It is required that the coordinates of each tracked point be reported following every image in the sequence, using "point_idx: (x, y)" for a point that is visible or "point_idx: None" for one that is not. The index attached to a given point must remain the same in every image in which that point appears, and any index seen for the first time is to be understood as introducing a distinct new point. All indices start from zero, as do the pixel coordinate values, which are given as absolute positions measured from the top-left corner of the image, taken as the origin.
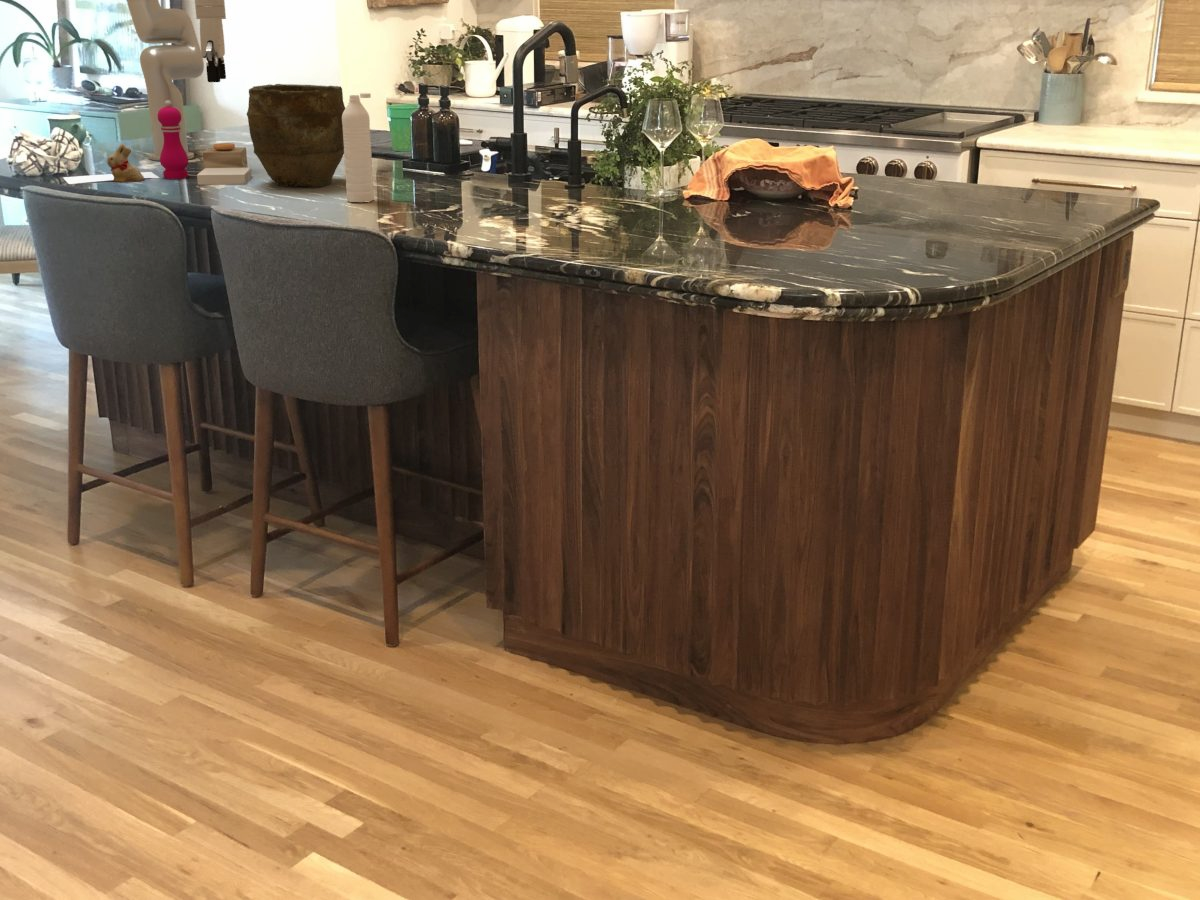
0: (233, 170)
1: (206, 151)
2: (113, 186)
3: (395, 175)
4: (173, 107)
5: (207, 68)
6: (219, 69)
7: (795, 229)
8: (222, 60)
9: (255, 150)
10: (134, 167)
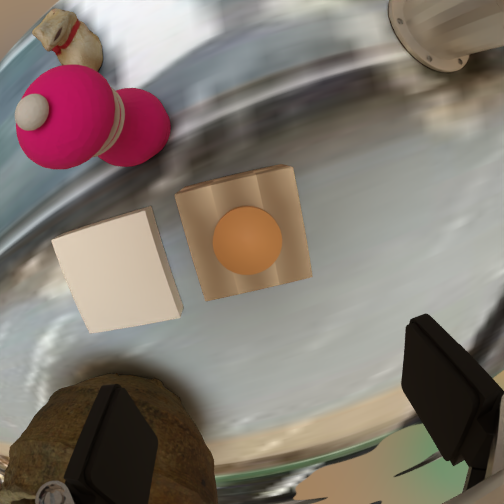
0: (127, 295)
1: (203, 195)
2: (24, 74)
3: (253, 472)
4: (43, 138)
5: (74, 469)
6: (436, 408)
7: None
8: (466, 480)
9: (52, 396)
10: (67, 64)
